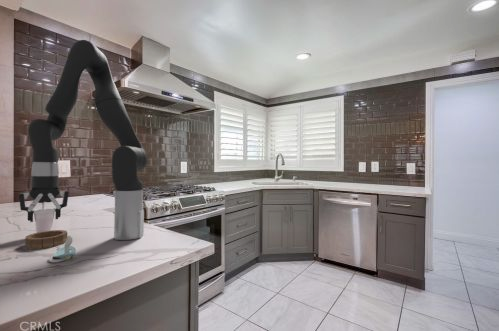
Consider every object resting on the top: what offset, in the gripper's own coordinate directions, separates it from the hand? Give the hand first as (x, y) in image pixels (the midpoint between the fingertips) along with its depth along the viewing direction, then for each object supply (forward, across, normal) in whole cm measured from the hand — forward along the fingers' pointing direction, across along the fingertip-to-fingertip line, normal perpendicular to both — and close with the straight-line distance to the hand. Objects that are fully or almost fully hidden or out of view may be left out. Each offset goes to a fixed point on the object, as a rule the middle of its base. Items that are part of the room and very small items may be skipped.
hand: (44, 220), depth 87 cm
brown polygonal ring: (+6, 0, +12) cm, 13 cm away
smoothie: (+6, 0, 0) cm, 6 cm away
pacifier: (+6, -2, +31) cm, 31 cm away
